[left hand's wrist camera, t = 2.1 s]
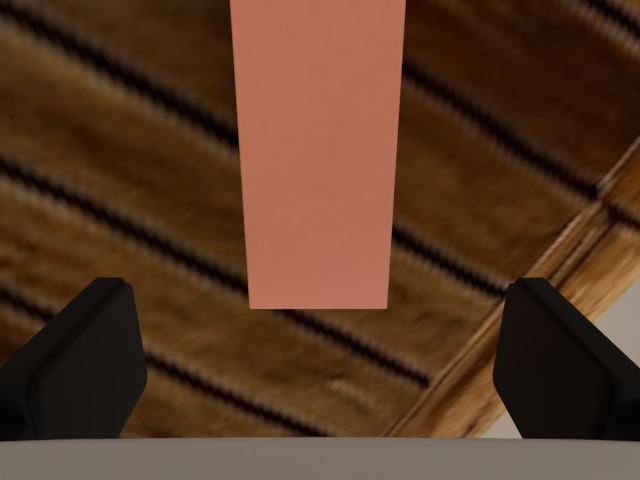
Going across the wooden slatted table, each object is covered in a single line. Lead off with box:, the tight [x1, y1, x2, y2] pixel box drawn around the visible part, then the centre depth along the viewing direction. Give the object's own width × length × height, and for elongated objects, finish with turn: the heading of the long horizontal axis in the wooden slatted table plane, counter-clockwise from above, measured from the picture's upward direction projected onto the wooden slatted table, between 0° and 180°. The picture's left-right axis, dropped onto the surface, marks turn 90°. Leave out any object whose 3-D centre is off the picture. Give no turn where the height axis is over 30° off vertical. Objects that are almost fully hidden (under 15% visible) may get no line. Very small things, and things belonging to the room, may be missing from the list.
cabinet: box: [230, 0, 406, 309], centre depth 21 cm, size 20×6×9 cm, turn 0°
